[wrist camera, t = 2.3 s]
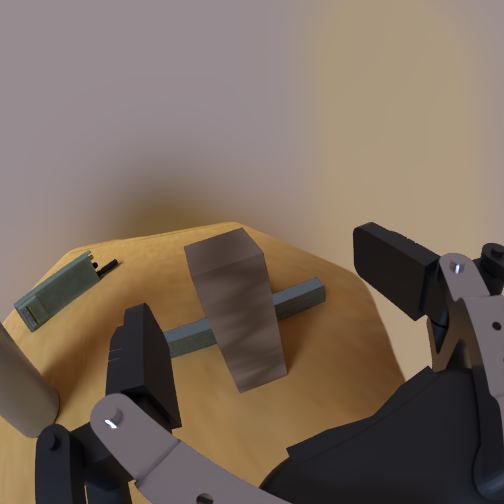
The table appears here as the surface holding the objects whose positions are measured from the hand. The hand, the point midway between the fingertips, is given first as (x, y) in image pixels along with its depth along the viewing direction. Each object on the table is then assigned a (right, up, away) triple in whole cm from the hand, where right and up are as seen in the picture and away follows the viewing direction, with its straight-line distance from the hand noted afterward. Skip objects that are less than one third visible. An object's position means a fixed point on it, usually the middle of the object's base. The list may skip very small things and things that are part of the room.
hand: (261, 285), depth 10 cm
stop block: (0, -11, +17) cm, 20 cm away
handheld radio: (-36, -8, +37) cm, 52 cm away
